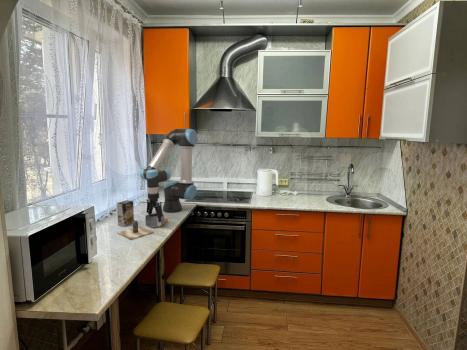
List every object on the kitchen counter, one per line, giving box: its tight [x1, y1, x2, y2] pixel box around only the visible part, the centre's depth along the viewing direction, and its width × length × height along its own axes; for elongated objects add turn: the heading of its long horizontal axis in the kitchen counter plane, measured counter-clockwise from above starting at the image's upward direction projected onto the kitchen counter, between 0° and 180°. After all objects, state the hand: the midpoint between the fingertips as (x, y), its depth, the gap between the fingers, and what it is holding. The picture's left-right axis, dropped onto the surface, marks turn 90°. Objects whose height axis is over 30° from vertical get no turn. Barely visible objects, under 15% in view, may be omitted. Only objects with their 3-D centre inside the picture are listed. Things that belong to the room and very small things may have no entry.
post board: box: [117, 220, 154, 241], centre depth 203 cm, size 16×16×8 cm
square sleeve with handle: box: [145, 212, 169, 229], centre depth 221 cm, size 14×9×7 cm, turn 137°
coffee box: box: [116, 200, 135, 227], centre depth 220 cm, size 9×6×16 cm
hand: (155, 224), depth 219 cm, fingers closed on square sleeve with handle, 9 cm apart
